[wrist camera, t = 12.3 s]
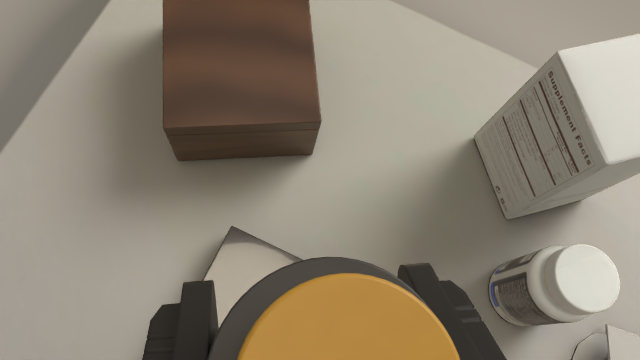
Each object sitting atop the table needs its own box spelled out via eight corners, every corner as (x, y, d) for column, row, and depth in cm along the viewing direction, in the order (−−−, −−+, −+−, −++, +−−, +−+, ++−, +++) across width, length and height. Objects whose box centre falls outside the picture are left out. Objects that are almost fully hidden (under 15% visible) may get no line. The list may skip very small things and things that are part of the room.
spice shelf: (312, 154, 39) (324, 111, 32) (177, 161, 38) (158, 117, 30) (299, 19, 42) (307, -48, 35) (176, 21, 41) (158, -48, 34)
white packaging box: (550, 116, 42) (664, 25, 30) (586, 200, 40) (724, 138, 28) (469, 134, 41) (555, 46, 29) (502, 222, 39) (610, 166, 27)
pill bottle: (542, 336, 37) (620, 333, 29) (480, 312, 37) (541, 302, 29) (554, 273, 38) (632, 254, 30) (495, 250, 38) (557, 225, 30)
